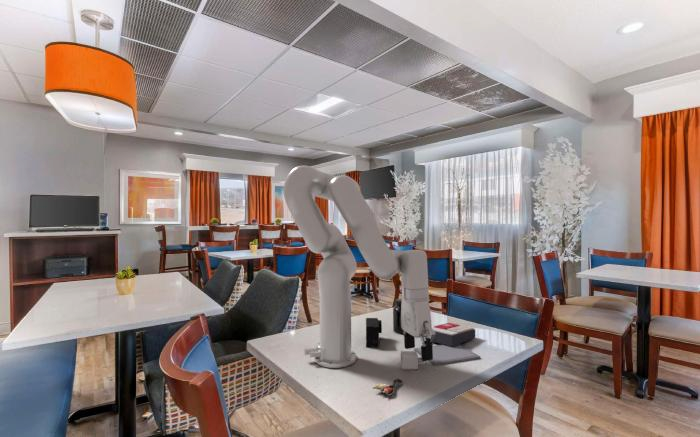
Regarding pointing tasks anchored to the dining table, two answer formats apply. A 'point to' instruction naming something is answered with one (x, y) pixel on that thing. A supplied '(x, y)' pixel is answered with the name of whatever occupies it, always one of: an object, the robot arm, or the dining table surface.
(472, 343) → the dining table surface
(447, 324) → the grey product box
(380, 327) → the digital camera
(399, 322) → the supplement bottle
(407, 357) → the usb wall charger
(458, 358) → the desk pad
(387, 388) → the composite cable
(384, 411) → the dining table surface
